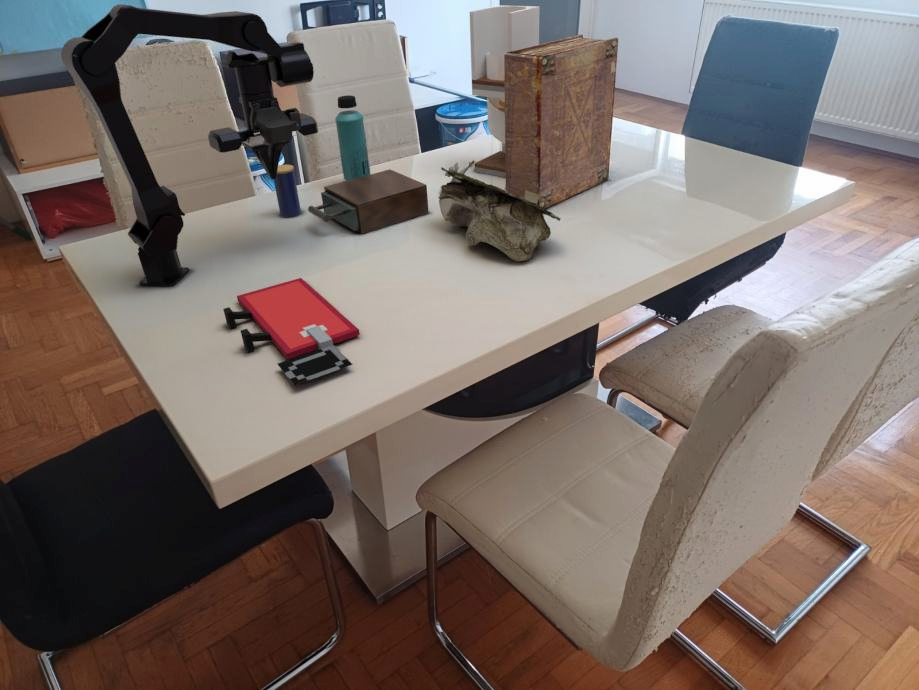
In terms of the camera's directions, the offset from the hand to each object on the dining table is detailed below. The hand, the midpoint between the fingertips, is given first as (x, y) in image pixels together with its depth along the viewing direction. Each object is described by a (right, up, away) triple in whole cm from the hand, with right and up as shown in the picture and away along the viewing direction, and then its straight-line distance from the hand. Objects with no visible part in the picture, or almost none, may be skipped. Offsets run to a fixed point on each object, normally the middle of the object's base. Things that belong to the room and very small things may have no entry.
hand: (272, 178), depth 126 cm
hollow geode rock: (+41, -11, +3) cm, 43 cm away
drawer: (+15, -4, +14) cm, 21 cm away
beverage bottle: (+11, +7, +33) cm, 35 cm away
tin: (-1, -3, +19) cm, 19 cm away
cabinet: (+18, -4, +16) cm, 24 cm away
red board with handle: (+10, -30, -24) cm, 39 cm away
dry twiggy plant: (+36, +3, +25) cm, 44 cm away
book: (+57, +3, +23) cm, 62 cm away
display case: (+46, +12, +38) cm, 61 cm away
